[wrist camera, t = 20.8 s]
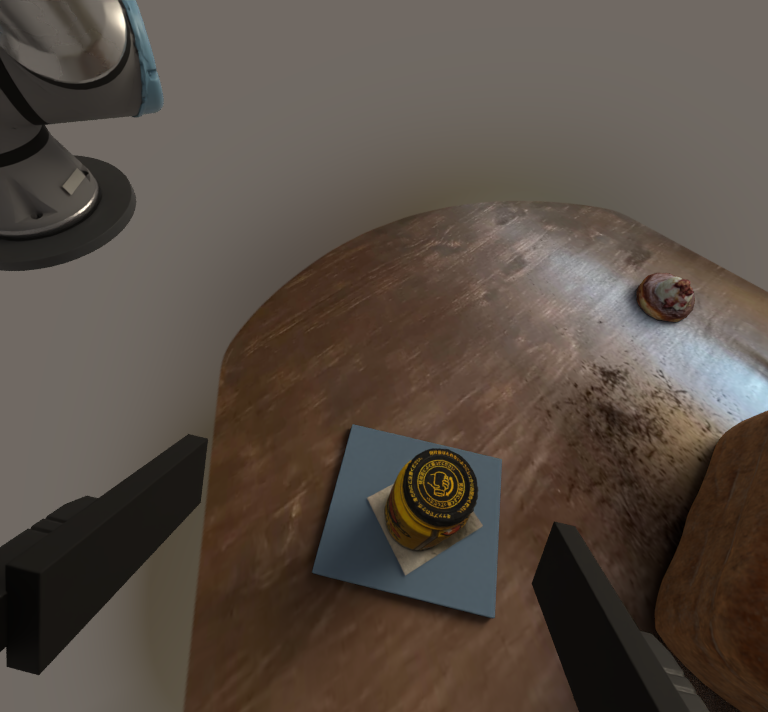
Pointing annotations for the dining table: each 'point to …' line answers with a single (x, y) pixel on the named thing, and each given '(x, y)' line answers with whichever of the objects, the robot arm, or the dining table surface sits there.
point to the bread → (724, 573)
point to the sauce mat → (371, 548)
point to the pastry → (666, 297)
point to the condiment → (428, 506)
